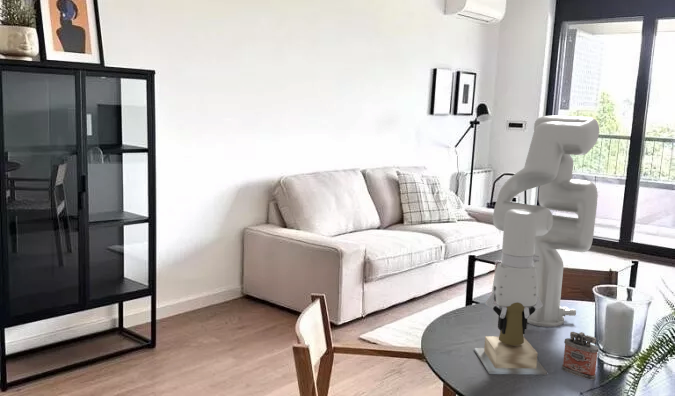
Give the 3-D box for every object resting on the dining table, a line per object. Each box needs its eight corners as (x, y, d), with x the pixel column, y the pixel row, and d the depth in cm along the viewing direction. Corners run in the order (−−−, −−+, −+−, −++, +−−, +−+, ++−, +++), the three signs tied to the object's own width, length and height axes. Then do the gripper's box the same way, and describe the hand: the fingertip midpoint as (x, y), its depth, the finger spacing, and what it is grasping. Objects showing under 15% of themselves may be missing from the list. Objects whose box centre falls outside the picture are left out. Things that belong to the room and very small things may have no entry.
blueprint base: (527, 350, 164) (528, 334, 163) (547, 374, 150) (548, 356, 150) (474, 350, 164) (475, 333, 163) (489, 374, 150) (490, 355, 149)
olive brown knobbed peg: (525, 346, 153) (528, 302, 151) (499, 343, 154) (502, 300, 152) (522, 336, 158) (526, 294, 157) (498, 334, 160) (501, 292, 158)
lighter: (559, 369, 153) (563, 330, 152) (565, 365, 156) (569, 327, 154) (591, 381, 148) (596, 340, 146) (598, 376, 150) (602, 336, 148)
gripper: (545, 256, 157) (539, 326, 160) (479, 255, 156) (474, 326, 159) (557, 265, 149) (550, 338, 152) (487, 264, 149) (482, 337, 152)
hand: (511, 331), depth 156 cm, fingers closed on olive brown knobbed peg, 4 cm apart
